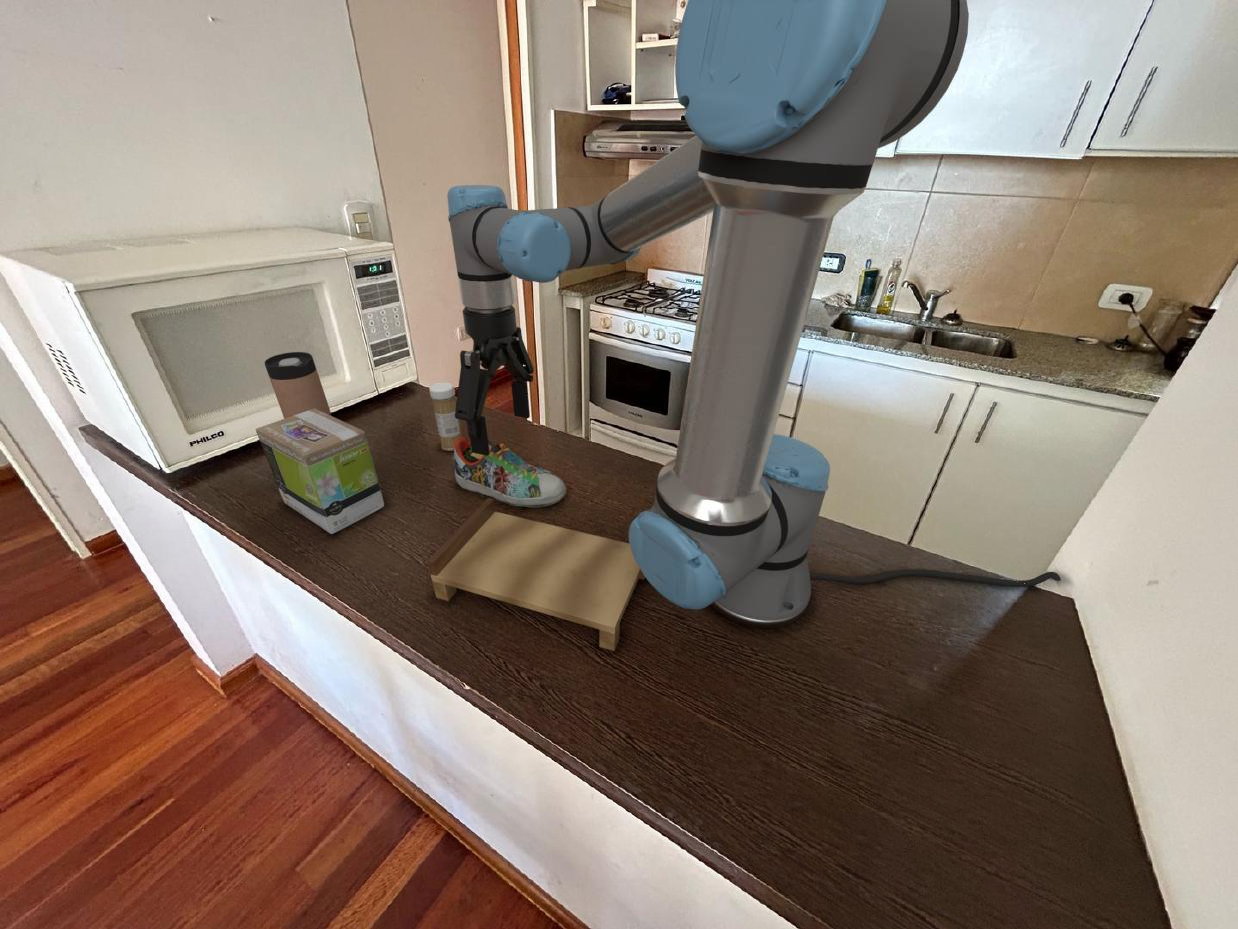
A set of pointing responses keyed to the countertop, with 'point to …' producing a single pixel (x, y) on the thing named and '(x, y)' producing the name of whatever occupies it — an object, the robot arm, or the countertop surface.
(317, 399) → the travel mug
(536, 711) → the countertop surface
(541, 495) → the sneaker
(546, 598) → the platform
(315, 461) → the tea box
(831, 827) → the countertop surface
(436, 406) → the sprinkles bottle
